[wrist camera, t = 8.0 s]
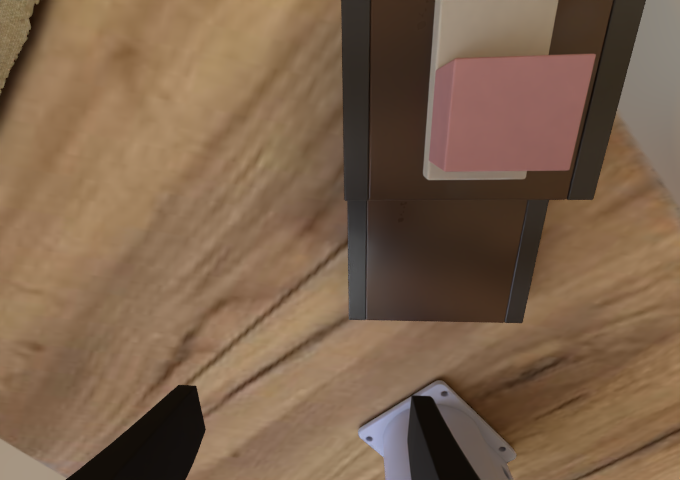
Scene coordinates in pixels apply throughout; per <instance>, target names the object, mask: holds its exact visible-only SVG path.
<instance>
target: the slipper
mask: <svg viewBox="0 0 680 480" xmlns="http://www.w3.org/2000/svg"><path fill="white" fill-rule="evenodd" d="M557 6H558V0H435V11H434V25H433V39H432V53H431V67H430V81H429V95H428V109H427V123H426V137H425V152H424V166H423V176H424V177H425V178H426V179H428V180H502V179H525V178H526V174H527V171H567V170H569V169H570V166H571V161H572V157H573V153H574V148H575V144H576V140H577V135H578V131H579V127H580V122H581V118H582V114H583V109H584V105H585V101H586V96H587V92H588V88H589V83H590V79H591V75H592V70H593V66H594V62H595V57H596V54H563V55H548V54H549V49H550V44H551V38H552V33H553V27H554V22H555V16H556V11H557Z"/></svg>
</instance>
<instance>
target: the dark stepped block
mask: <svg viewBox="0 0 680 480" xmlns="http://www.w3.org/2000/svg"><path fill="white" fill-rule="evenodd" d="M645 1H646V0H558V6H557V11H556V16H555V22H554V27H553V33H552V38H551V44H550V49H549V54H548V55H563V54H596V57H595V62H594V66H593V70H592V75H591V79H590V83H589V88H588V92H587V96H586V101H585V105H584V109H583V114H582V118H581V122H580V127H579V131H578V135H577V140H576V144H575V148H574V153H573V157H572V161H571V166H570V169H569V170H567V171H527V174H526V178H525V179H502V180H428V179H426V178H425V177H424V176H423V166H424V152H425V137H426V123H427V109H428V95H429V81H430V67H431V53H432V39H433V25H434V11H435V0H341V14H342V78H343V143H344V200H345V201H348V284H349V320H397V321H448V322H498V323H504V322H505V323H522V322H523V318H524V313H525V308H526V304H527V299H528V294H529V290H530V285H531V281H532V276H533V271H534V267H535V262H536V257H537V253H538V248H539V243H540V239H541V234H542V229H543V225H544V220H545V215H546V211H547V206H548V201H549V200H565V199H568V200H592V199H593V198H594V194H595V190H596V187H597V183H598V179H599V175H600V171H601V168H602V164H603V160H604V156H605V153H606V149H607V145H608V141H609V137H610V134H611V130H612V126H613V122H614V119H615V115H616V111H617V107H618V103H619V100H620V96H621V92H622V88H623V84H624V81H625V77H626V73H627V69H628V66H629V62H630V58H631V54H632V51H633V46H634V43H635V39H636V35H637V32H638V27H639V24H640V20H641V17H642V13H643V9H644V5H645Z"/></svg>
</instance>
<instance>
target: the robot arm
mask: <svg viewBox="0 0 680 480" xmlns="http://www.w3.org/2000/svg"><path fill="white" fill-rule="evenodd" d="M443 391H446V392H443ZM205 430H206V429H205V425H204V420H203V415H202V411H201V406H200V402H199V397H198V392H197V388H196V386H189V385H178V386H177V387H176V388H175V389H174V390H172V391H171V392H170V393H169V394H168V395H167V396H165V397H164V398H163V399H162V400H161V401H160V402H159V403H158V404H156V405H155V406H154V407H153V408H152V409H151V410H150V411H148V412H147V413H146V414H145V415H144V416H143V417H142V418H140V419H139V420H138V421H137V422H136V423H135V424H134V425H132V426H131V427H130V428H129V429H128V430H127V431H125V432H124V433H123V434H122V435H121V436H120V437H118V438H117V439H116V440H115V441H114V442H113V443H111V444H110V445H109V446H108V447H106V448H105V449H104V450H103V451H101V452H100V453H99V454H98V455H96V456H95V457H94V458H93V459H91V460H90V461H89V462H88V463H86V464H85V465H84V466H83V467H82V468H80V469H79V470H78V471H77V472H75V473H74V474H73V475H71V476H70V477H69V478H67V479H66V480H185V479H186V477H187V475H188V473H189V471H190V469H191V467H192V465H193V463H194V460H195V458H196V455H197V452H198V450H199V447H200V444H201V441H202V439H203V436H204V433H205ZM358 435H359V437H360V438H361V439H362V440H364V441H365V442H366V443H367V444H368V445H370V446H371V447H372V448H373V449H374V450H376V451H377V452H378V453H379V454H380V455H382V456H383V457H384V466H385V480H513V477H512V475H511V472H510V470H509V468H508V465H507V463H508V462H510V461H512V460H514V459H515V458H516V452H515V450H514V449H513V448H512V447H511V446H510V445H509V444H508V443H507V442H506V441H505V440H504V439H503V438H502V437H501V436H500V435H499V434H498V433H497V432H496V431H495V430H493V429H492V428H491V427H490V426H489V425H488V424H487V423H486V422H485V421H484V420H483V419H482V418H481V417H480V416H479V415H478V414H477V413H476V412H475V411H474V410H473V409H472V408H471V407H470V406H469V405H468V404H467V403H466V402H465V401H464V400H463V399H462V398H461V397H459V396H458V395H457V394H456V393H455V392H454V391H453V390H452V389H451V388H450V387H449V386H448V385H447V384H446V383H445V382H444V381H441V380H438V381H435V382H433V383H432V384H430V385H428V386H427V387H425V388H423V389H422V390H420V391H419V392H417V393H415V394H414V395H411V397H409V398H407V399H406V400H404V401H402V402H401V403H399V404H398V405H396V406H394V407H393V408H391V409H389V410H388V411H386V412H385V413H383V414H381V415H380V416H378V417H376V418H375V419H373V420H372V421H370V422H368V423H367V424H365V425H364V426H362V427H360V428H359V430H358ZM369 436H370V437H369Z"/></svg>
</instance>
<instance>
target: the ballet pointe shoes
mask: <svg viewBox="0 0 680 480" xmlns="http://www.w3.org/2000/svg"><path fill="white" fill-rule="evenodd" d="M39 1H40V0H0V88H3V87H4V83H5V79H4V78H6V77H7V78H8V75H9V72H10V71H9V69H10V68H11V66H14V62H13V59H15V60H16V58H18V55H17V53H20V51H21V48H22V47H21V45H23V43H24V42H25V41H26V40H27V39H28V37H27V36H26V34H29V29H31V25H30V21H29V17H30V16H31V15H32V13H33V6H34V3H36V4H39ZM1 92H2V91H1V89H0V94H1Z"/></svg>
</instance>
